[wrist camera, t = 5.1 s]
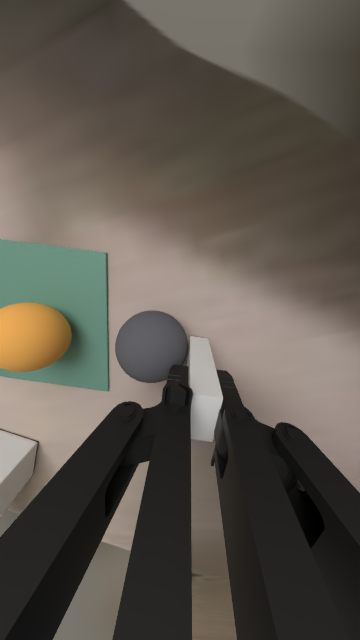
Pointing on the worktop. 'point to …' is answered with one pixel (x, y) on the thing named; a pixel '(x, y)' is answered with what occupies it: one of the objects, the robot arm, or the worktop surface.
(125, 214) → the worktop surface
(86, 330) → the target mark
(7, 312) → the object ball
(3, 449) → the milk carton
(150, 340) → the dark gray ball
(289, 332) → the worktop surface
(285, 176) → the worktop surface
